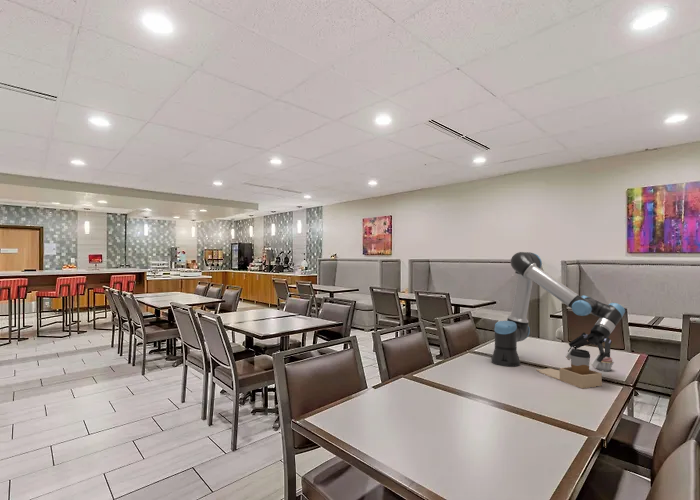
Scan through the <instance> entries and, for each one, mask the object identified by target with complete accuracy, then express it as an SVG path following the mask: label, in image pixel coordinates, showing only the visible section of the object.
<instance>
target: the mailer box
mask: <svg viewBox="0 0 700 500" xmlns="http://www.w3.org/2000/svg"><path fill="white" fill-rule="evenodd" d="M536 371H537V372H538V371H539V374H542V375H544V374H545V376H548V377H549V378H552V379H555V380H557V381H558V380H559V381H561V382H564V383H566V384H569V385H572V386H574V387H577V388H579V389H582V390H584V389H591V388H590V387H592V388H597V387H596V386H600V387H602V386H603V379H602V376H603V374H602V372H598V371H595V370H591V369H589V374H588V375H580V374H577V373H574V372H572V371H571V366H568V367H559V369H554V368H551V367H548V368H541V369H536Z"/></svg>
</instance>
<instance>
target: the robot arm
mask: <svg viewBox="0 0 700 500" xmlns="http://www.w3.org/2000/svg"><path fill="white" fill-rule="evenodd" d="M542 265H543V263H542V259H541V257H540V256H539V254H536V253H533V252H527V251H526V252H525V251H519V252H515V253H514V254H513V255H512V257H511V258H510V266H511V268H512V269H513V270H514V271H515V272H514V274H515V275H516V277H517V278H516V281H515V282H516V283H515V288H514V289H515V290H514V296H513V302H512V308H511V312H510V315H509V316H507V319H506V320H498V321H497V322H496V323H495V324H494V329H493V330H494V349H493V352H492V355H491V363H493V364H495V365H498V366H503V367H519V366H521V360H520V357H519V354H518V351H517V347H518V346H517V343H519V342H522V341H525V340H526V339H527V338H528V337H529V336H530V332H531V329H530V326H529V320H528V318H527V316H528V311H529V305H530V301H531V300H530V299H531V294H532V288H533V282H534V283H535V284H536V285H538V286H539V287H541V288H542V289H544V291H547V292H548V293H549V294H551V295H552V296H553V297H554V298H555V299H558V300H559V301H560V302H562V303H563V304H565V305H566V306H567V307H569V308H570V309H571V310H572V312H573V314H574V315H577V316H581V317H585V316H586V317H587V316H589V315H593V316H595V317H598V320H597V321H596V322H595V323H594V325H593V327H592V328H591V329H590V333H589V334H587V333H586V332H582V333H581V334H580V336H578V337H576V338H575V339H574V340H572V341H570V342H569V343H568V345H569V348H568V349H567V353H566V354H565V358H566V359H567V360H568V361H571V355H570V353H571V350H572V349H580V348H582V347H584V346H587V345H594V346H597V347H598V348H597V349H598V351H599V352H598V353H597V354H596V355H595V357H594V358H593V359H594V360H593V359H592V361H591V362H590V365H591V366H592V368H593V369H597V368H596V366H597V365H598V363H599V362H601V361H602V360H603V358H605V357H608V358H609V357H611V345H612V343H613V341H612V340H611V338H609V337H610V335H611V333H612V332H613V331H614V330H615V328H616V326H617V325H618V324H619V322H620V321H621V320H622V319H623V316H624V315H625V313H626V309H625V308H624V306H622V304H620V303H617V302H610V303H609V304H605V303H604V302H601V301H599V300H596V299H594V298H592V297H590V296H587V295H585V294H583V295H579V294H578V293H576V292H575V291H573V290H572V289H571V288H569V287H567V286H566V285H565V284H564V283H562V282H560V281H559V280H557V279H556V278H555V277H553V276H551V275H550V274H549V273H547V272H545V271H544V270H543V269H541V268H542ZM603 344H604V346H603ZM604 352H605V353H604ZM599 353H600V354H599Z"/></svg>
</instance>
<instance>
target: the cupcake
mask: <svg viewBox="0 0 700 500" xmlns="http://www.w3.org/2000/svg"><path fill="white" fill-rule="evenodd" d="M604 353H605V351H604ZM598 354H600V353H599V352H598ZM593 360H594V358H593V359H592V361H593ZM614 363H615V362H614V361H613V358H612V357H611V356H610V357H609V358H608V357H605V358H603V360H602V361H601V362H599V363H598V365H597V366H596V368H595V369H597V370H599V371H602V370H604V371H603V372H610V371H611V370H612V367H613V365H614Z"/></svg>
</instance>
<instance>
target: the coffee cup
mask: <svg viewBox="0 0 700 500" xmlns="http://www.w3.org/2000/svg"><path fill="white" fill-rule="evenodd" d="M570 355H571V359H570V367H571V371H572V372H574V373H577V374H580V375H588V374H589V370H590V363H591V362H590V360H591V354H590V351H588V350H586V349H580V348H577V349H572V350H571V353H570Z"/></svg>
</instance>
